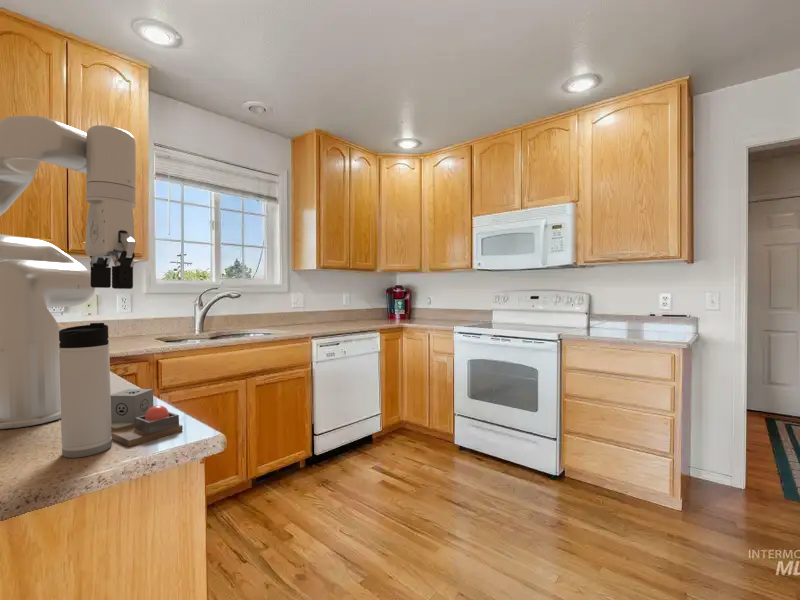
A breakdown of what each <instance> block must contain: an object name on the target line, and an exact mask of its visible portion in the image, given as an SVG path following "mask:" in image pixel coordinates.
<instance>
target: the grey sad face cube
mask: <svg viewBox="0 0 800 600" xmlns="http://www.w3.org/2000/svg"><path fill="white" fill-rule="evenodd" d="M153 406H154V389H153V388H149V389H148V388H145V389H144V388H142V389H141V388H128V389H125V390H121V391H119V392H115V393H112V394H111V423H135V418H136V417H141V416H145V415H146V412H147V411H148V410H149V409H150V408H151V407H153Z"/></svg>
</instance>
